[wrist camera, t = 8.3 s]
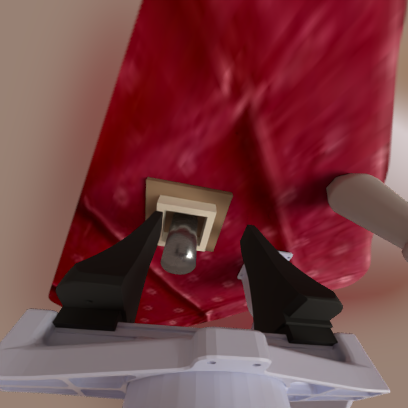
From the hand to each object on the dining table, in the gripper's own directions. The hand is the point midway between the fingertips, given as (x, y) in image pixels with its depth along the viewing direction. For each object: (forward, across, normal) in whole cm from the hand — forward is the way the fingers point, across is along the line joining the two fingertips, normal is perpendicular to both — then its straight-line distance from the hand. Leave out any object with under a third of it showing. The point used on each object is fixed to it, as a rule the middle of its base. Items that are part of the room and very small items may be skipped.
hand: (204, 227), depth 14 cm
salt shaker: (+10, -20, -2) cm, 22 cm away
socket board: (+10, +2, +8) cm, 13 cm away
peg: (+9, +2, +7) cm, 12 cm away
